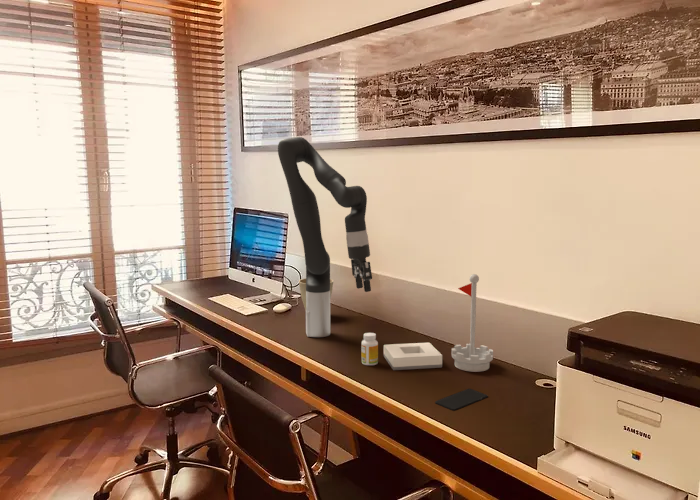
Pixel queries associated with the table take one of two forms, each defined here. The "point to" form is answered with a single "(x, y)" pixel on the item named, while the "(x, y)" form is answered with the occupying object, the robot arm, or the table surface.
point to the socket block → (412, 356)
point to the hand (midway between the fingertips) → (363, 289)
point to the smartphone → (461, 399)
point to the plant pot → (303, 289)
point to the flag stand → (472, 339)
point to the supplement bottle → (369, 349)
